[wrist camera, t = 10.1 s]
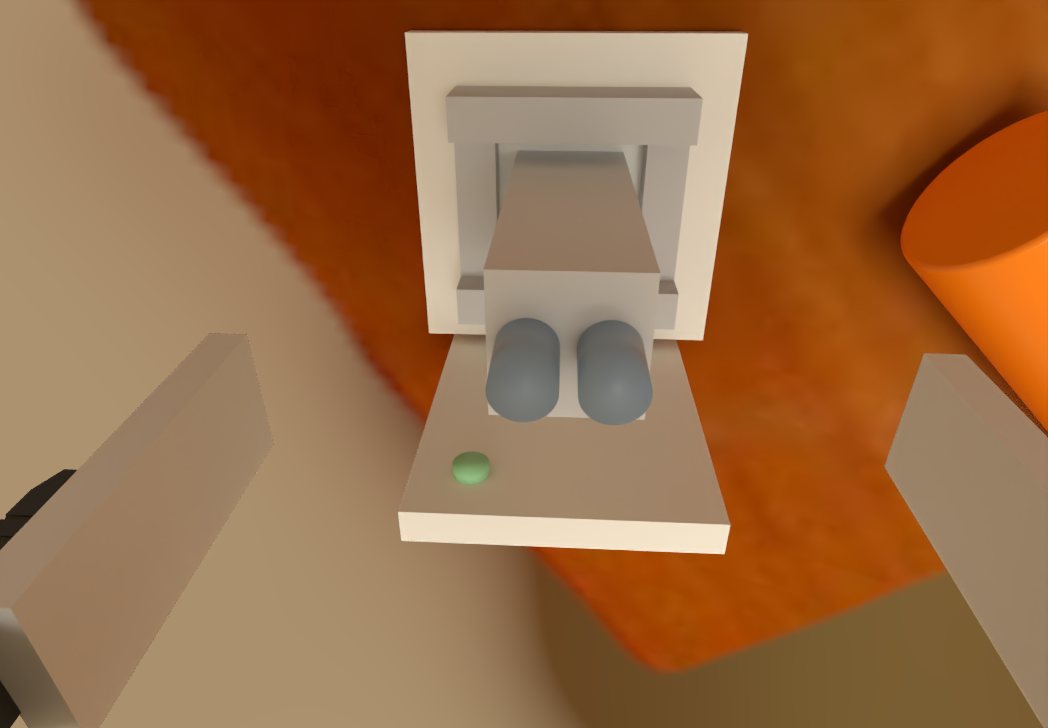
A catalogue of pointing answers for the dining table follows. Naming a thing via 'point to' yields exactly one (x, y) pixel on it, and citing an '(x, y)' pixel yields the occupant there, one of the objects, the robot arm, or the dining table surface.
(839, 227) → the dining table surface
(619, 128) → the port
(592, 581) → the dining table surface
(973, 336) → the shaker bottle
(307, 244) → the dining table surface
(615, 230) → the plug
